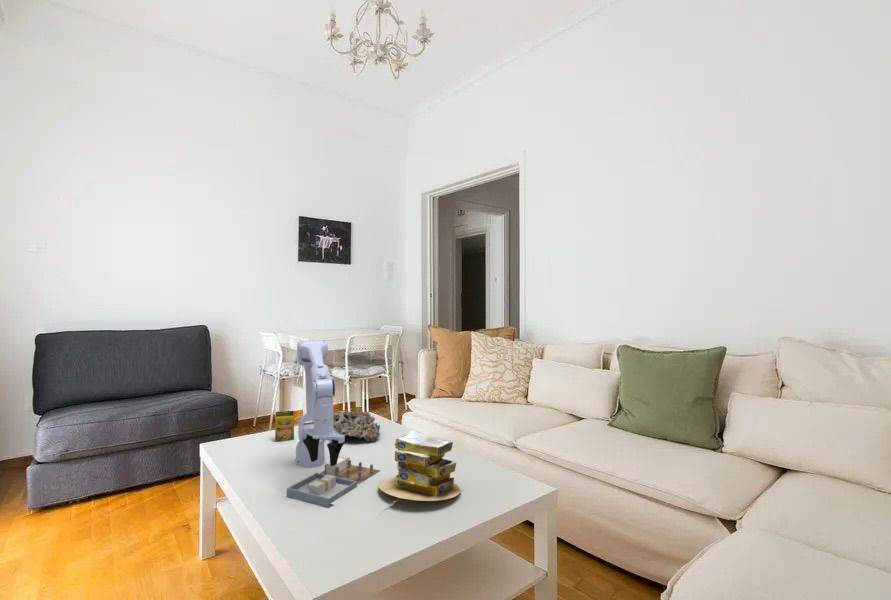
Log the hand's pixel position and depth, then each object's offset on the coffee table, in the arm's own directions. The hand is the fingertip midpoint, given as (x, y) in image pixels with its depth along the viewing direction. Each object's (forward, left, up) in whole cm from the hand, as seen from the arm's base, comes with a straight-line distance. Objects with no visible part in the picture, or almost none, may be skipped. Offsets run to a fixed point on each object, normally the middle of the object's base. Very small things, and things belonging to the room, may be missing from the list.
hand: (323, 462), depth 137 cm
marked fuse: (0, -1, -8) cm, 8 cm away
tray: (0, -1, -9) cm, 9 cm away
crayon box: (-48, +31, -9) cm, 58 cm away
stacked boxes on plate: (+27, +12, -9) cm, 31 cm away
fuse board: (-1, +13, -9) cm, 16 cm away
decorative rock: (-25, +49, -9) cm, 56 cm away
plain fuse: (-5, +13, -8) cm, 16 cm away
